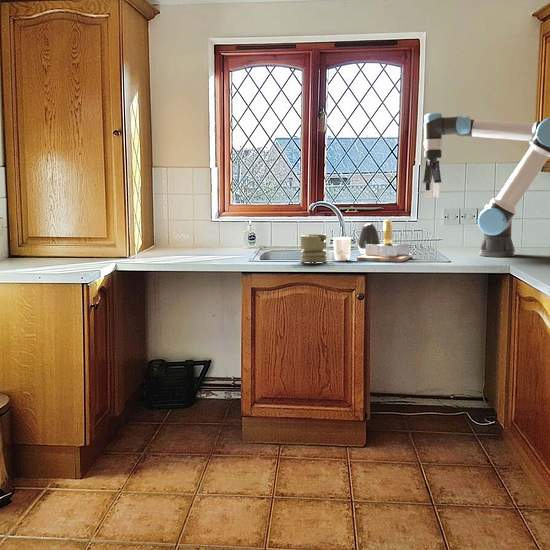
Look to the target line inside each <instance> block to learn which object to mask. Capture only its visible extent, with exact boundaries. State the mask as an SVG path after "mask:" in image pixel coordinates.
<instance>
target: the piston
mask: <svg viewBox="0 0 550 550" xmlns="http://www.w3.org/2000/svg"><path fill="white" fill-rule="evenodd" d="M327 246H328V245H327V234H323V233H321V234H320V233H319V234H318V233H314V234H313V233H309V234H308V235H301V234H300V249H301V251H300V255H301V256H300V263H301V262H310V263H312V262H313V263H316V262H326V263H327V261H328V258H327V253H328V252H327V250H325V249H327Z"/></svg>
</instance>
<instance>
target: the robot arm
mask: <svg viewBox="0 0 550 550" xmlns="http://www.w3.org/2000/svg"><path fill="white" fill-rule="evenodd" d="M423 129H424V131H423V134H424V136H423V143H422V144H423V146H424V147H423V149H424V151H423V158H424V159H426V160H425V169H424V176H423V180H422V183H423V184H424V198H425V199H432V197H433V198H440V194H441V193H440V190H441V189H440V185H441V184H440V183H442V177H441V168H440V160H438V159H441V158H442V148H443V147H442V146H443V144H442V139H443V138H442V136H447V135H448V136H450V135H456V136H458V137H469V138H470V137H474V138H485V139H486V138H487V139H495V140H496V139H497V140H510V141H512V140H513V141H521V142H522V141H524V142H528V144H529V148H528V150H527V151H526V153H525V154H524V156H523V157H522V159H521V160H520V162H519V163H518V165H517V166H516V168H515V169H514V171H513V172H512V174H511V175H510V177H509V179H508V180H507V181H506V183H505V184H504V186H503V187H502V189H501V190H500V192H499V193H498V194H497V196H496V197H493V198H491V199H490V201H489V202H488V203H487V204H485V206H484V209H483V210H481V211H480V213H479V215H478V217H477V225H478V227H479V230H480V231H481V232H483V241H482V243H481V246H480V249H479V256H484V257H488V258H489V257H493V258H496V257H497V258H502V257H503V258H507V257H508V258H509V257H515V256H516V250H515V246H514V243H513V240H512V227H513V226H512V225H513V224H512V221H513V220H512V219H513V217H514V216H515V215H516V213H517V212H516V207H517V205H518V203H519V202H520V201H521V199H522V198H523V196H524V195H525V194H526V192H527V191H528V189H529V188H530V186H531V184H533V182H534V180H535V179H536V177H537V176H538V175H539V173H540V171H541V170H542V168H543V167H544V166H545V164H547V163H546V162H547V161H548V159H550V117H547V118H545V119H543V120H542V121H541V120H537V121H535V122H534V123H531V122H530V123H529V122H517V121H503V120H502V121H499V120H485V119H472V118H470V116H468V115H460V116H459V115H458V116H447V117H443V115H442V113H440V112H435V113H434V112H432V113H431V112H430V113H427V114H425V115H424V123H423ZM432 180H433V183H432Z"/></svg>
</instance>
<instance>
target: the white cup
mask: <svg viewBox="0 0 550 550" xmlns="http://www.w3.org/2000/svg"><path fill="white" fill-rule="evenodd" d="M332 240H333V253H334V260H335V261H337V262H339V261H340V262H346V260H347V261H350V259H351V249H352V246H351V245H352V238H351V237H349V236H339V237H336V236H335V237H333V238H332Z"/></svg>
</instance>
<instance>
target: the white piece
mask: <svg viewBox="0 0 550 550" xmlns="http://www.w3.org/2000/svg"><path fill="white" fill-rule="evenodd" d="M409 254H410V243H398V244H397V243H392V245H388V246H387V245H384V243H382V244H381V243H380V245H371V244H366V256H378V257H397V256H400V255H409Z"/></svg>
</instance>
